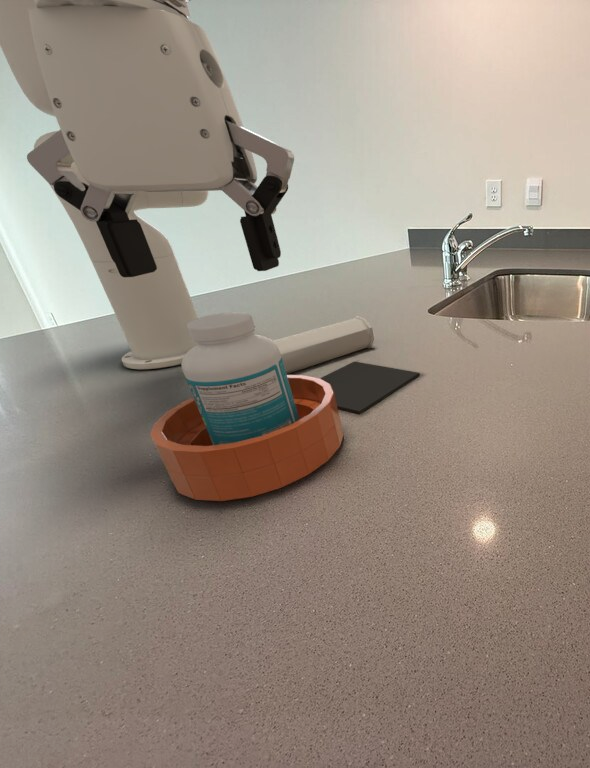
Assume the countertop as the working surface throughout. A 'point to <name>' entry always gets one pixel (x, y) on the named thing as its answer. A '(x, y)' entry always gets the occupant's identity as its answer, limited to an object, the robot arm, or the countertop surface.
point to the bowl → (249, 447)
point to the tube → (324, 343)
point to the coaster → (365, 384)
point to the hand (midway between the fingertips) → (205, 271)
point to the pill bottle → (237, 379)
